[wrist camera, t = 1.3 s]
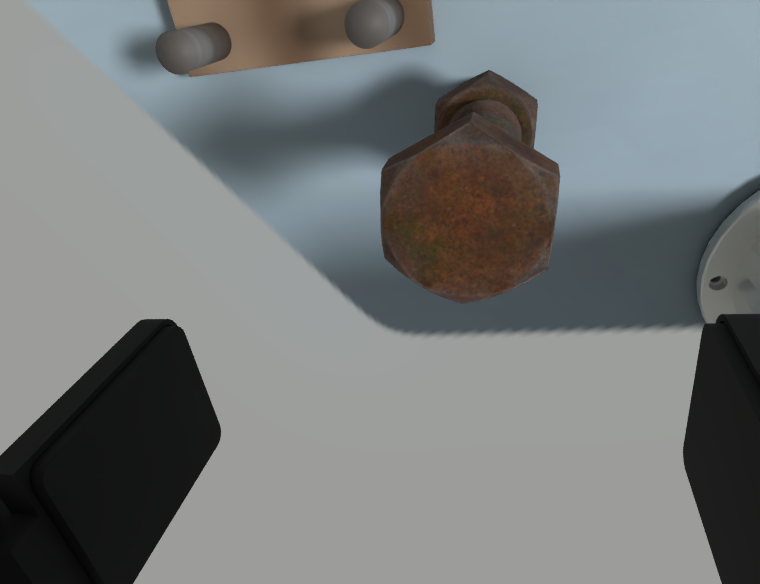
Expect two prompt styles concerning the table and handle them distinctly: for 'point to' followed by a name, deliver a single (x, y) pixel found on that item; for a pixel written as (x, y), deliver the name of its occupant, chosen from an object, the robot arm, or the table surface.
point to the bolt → (472, 196)
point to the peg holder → (287, 32)
